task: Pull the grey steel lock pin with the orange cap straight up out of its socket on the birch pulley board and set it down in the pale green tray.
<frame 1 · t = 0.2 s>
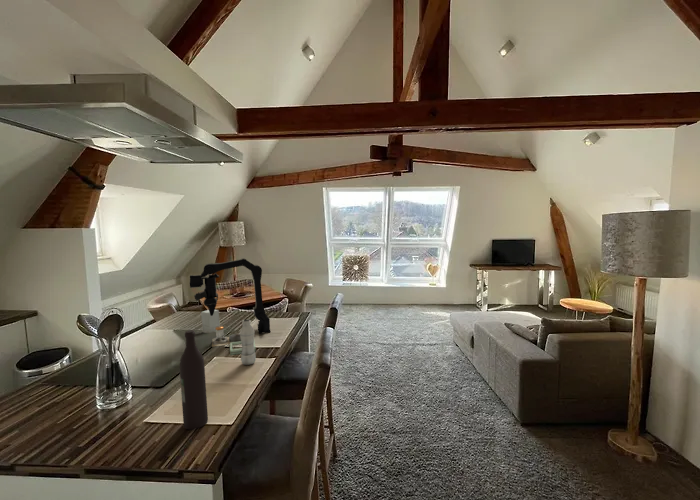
hand: (212, 313, 190), 14 cm above the counter, fingers open, 9 cm apart
supplement box: (211, 331, 205), on the counter
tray: (242, 349, 173), on the counter
wine bottle: (196, 424, 108), on the counter
plastic bottle: (248, 364, 154), on the counter
pulley board: (230, 343, 183), on the counter
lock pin: (220, 341, 181), point 1 cm above the counter, touching pulley board
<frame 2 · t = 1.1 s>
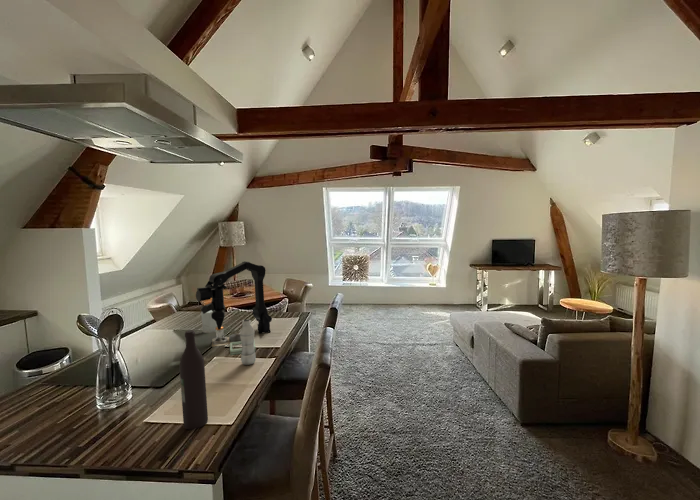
hand: (219, 326, 181), 10 cm above the counter, fingers open, 9 cm apart
nothing on the counter moved.
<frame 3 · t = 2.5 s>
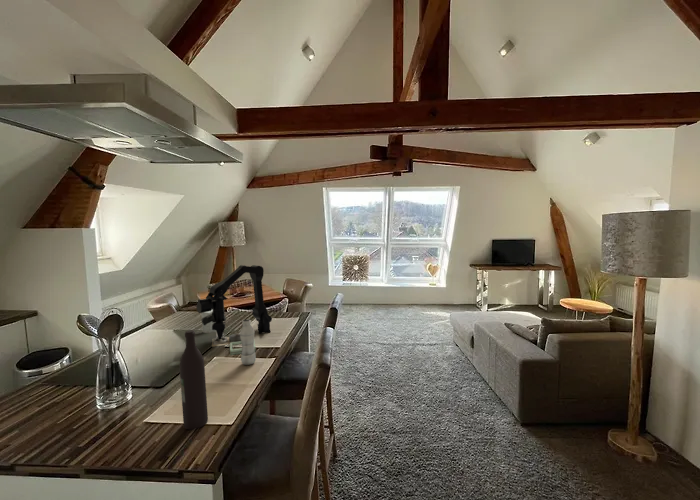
hand: (220, 337, 181), 4 cm above the counter, fingers closed on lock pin, 4 cm apart
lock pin: (220, 341, 181), point 1 cm above the counter, touching gripper, pulley board
everything else where it was.
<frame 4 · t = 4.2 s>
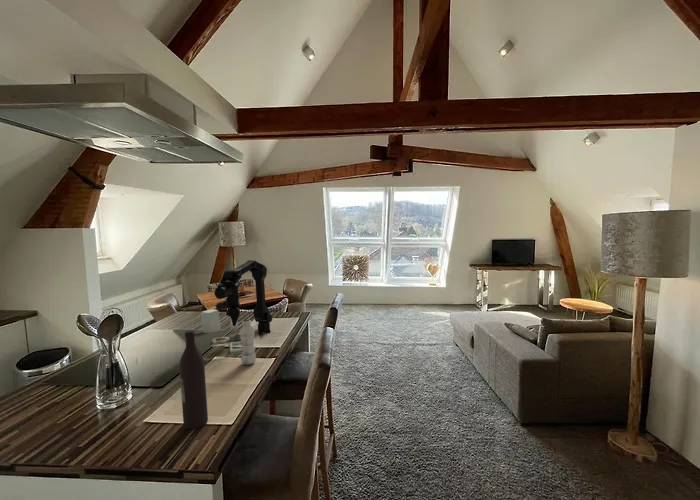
hand: (234, 324, 174), 12 cm above the counter, fingers closed on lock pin, 4 cm apart
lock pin: (234, 328, 174), point 10 cm above the counter, touching gripper
everything else where it was.
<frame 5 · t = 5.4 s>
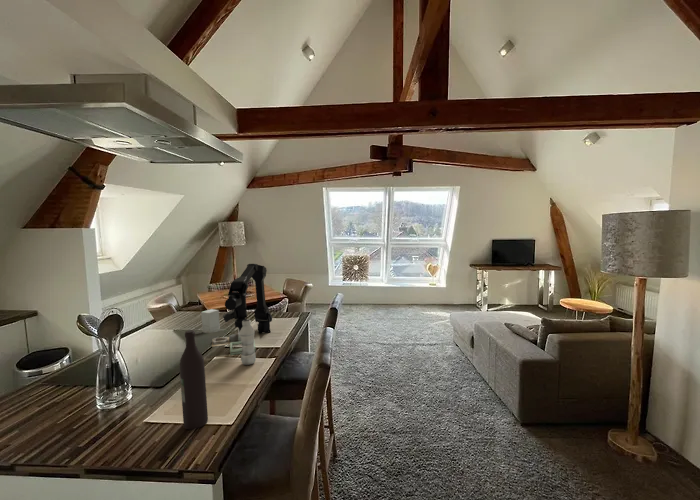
hand: (242, 335, 172), 7 cm above the counter, fingers closed on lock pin, 4 cm apart
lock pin: (242, 339, 172), point 5 cm above the counter, touching gripper
everything else where it was.
when the fingers open (4 cm above the counter, at t = 6.3 s): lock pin drops 1 cm, resting on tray.
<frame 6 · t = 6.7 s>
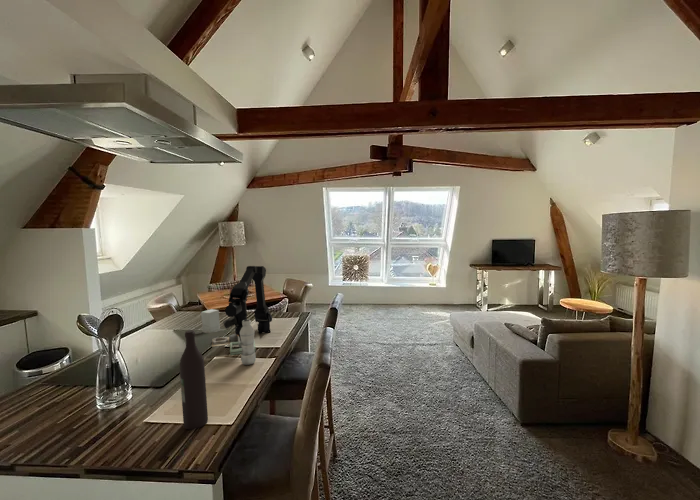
hand: (242, 341, 172), 4 cm above the counter, fingers open, 8 cm apart
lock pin: (242, 348, 173), point 1 cm above the counter, touching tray
everything else where it was.
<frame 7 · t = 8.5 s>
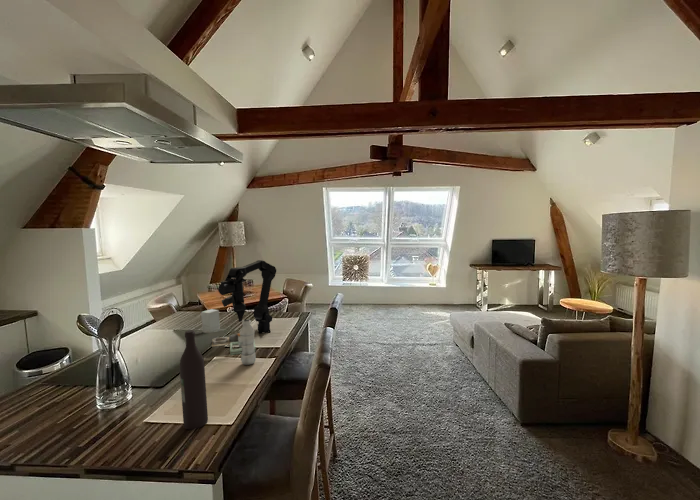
hand: (239, 319, 185), 12 cm above the counter, fingers open, 9 cm apart
nothing on the counter moved.
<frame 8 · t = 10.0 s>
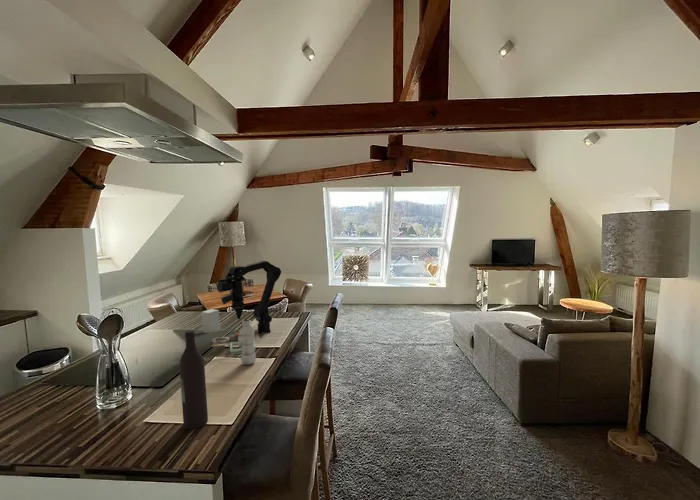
hand: (238, 316, 188), 13 cm above the counter, fingers open, 9 cm apart
nothing on the counter moved.
at the end: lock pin inside the target area on the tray (0.1 cm from its centre), point 0.6 cm above the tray's base; the gripper is holding nothing; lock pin moved 17.0 cm from its start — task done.
